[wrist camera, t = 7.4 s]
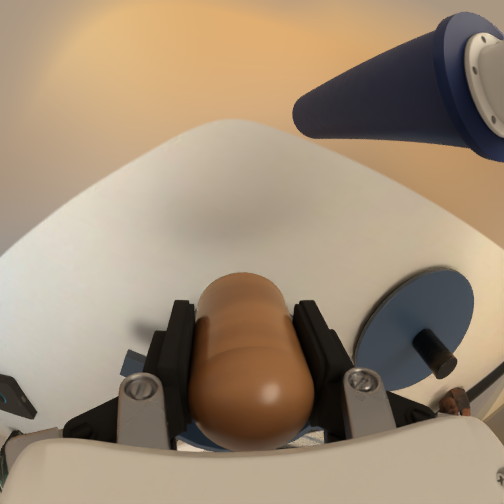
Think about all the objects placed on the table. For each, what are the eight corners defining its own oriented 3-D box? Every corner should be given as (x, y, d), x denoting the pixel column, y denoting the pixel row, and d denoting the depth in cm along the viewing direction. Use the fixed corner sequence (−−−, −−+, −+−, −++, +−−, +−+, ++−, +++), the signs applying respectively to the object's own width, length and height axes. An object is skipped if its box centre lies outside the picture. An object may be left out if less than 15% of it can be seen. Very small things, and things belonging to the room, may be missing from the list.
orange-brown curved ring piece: (467, 392, 37) (469, 433, 32) (421, 404, 42) (421, 444, 37) (471, 378, 30) (474, 429, 25) (414, 392, 35) (415, 443, 30)
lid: (416, 238, 24) (460, 267, 18) (485, 295, 28) (516, 321, 22) (322, 371, 29) (340, 418, 22) (411, 391, 33) (431, 425, 26)
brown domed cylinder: (220, 257, 12) (217, 383, 6) (301, 292, 13) (357, 414, 6) (184, 328, 13) (165, 457, 7) (259, 355, 14) (280, 477, 8)
